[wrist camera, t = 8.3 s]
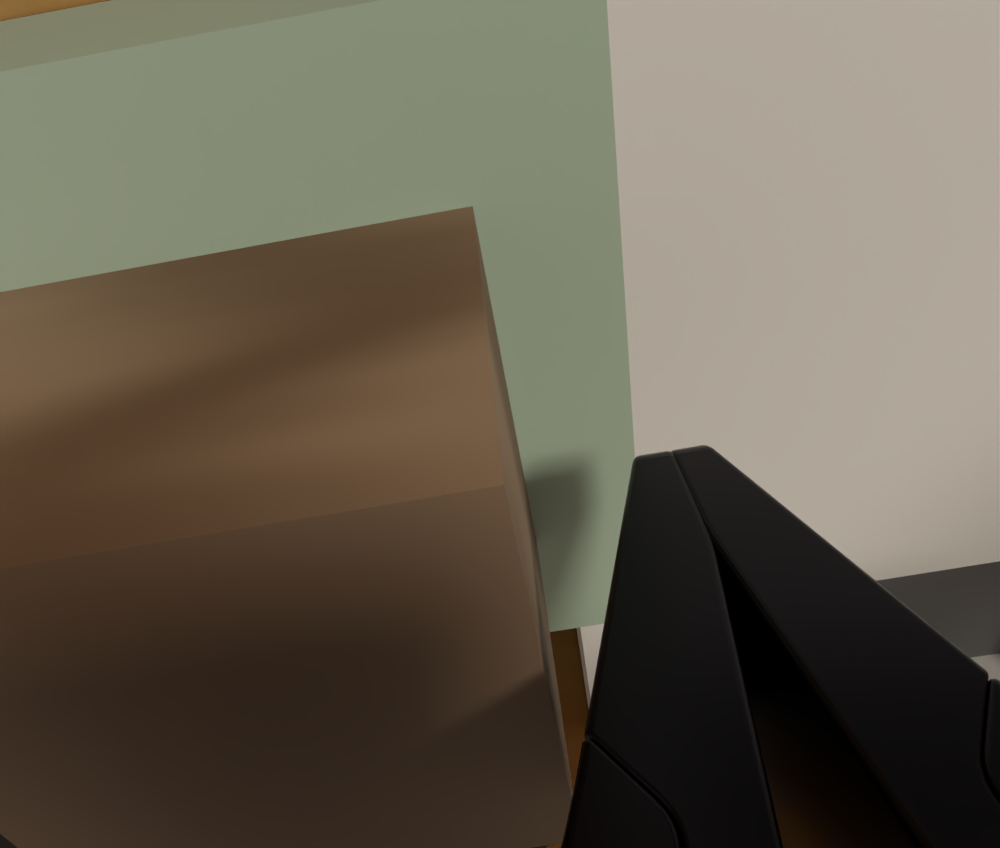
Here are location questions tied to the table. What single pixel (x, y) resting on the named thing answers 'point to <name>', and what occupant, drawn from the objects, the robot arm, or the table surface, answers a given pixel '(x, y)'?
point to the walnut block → (272, 556)
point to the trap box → (597, 232)
